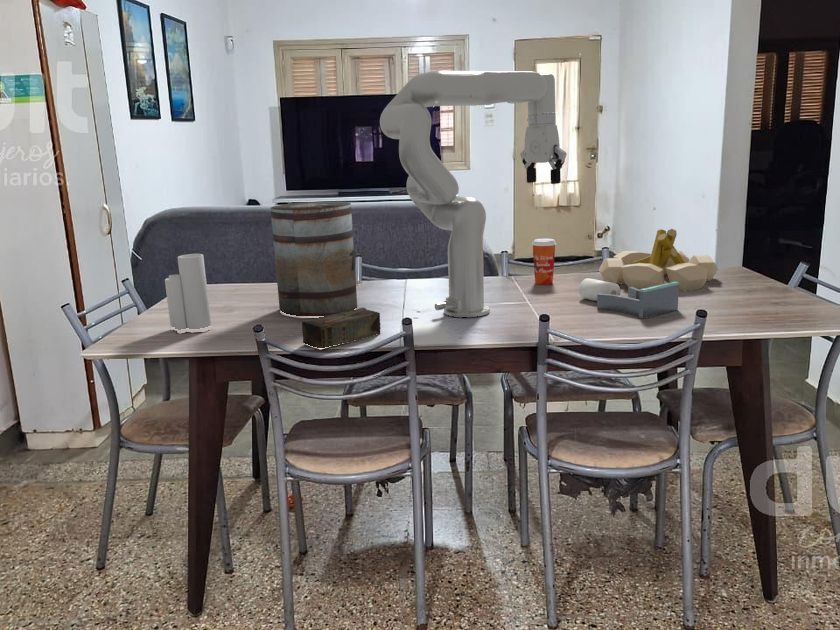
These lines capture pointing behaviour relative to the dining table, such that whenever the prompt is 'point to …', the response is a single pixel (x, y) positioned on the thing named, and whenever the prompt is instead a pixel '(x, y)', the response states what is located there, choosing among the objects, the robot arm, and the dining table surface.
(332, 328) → the olive brown box
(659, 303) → the holder
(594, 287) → the roll
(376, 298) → the dining table surface
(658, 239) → the campfire
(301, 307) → the barrel
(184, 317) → the vase
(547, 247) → the paper cup
